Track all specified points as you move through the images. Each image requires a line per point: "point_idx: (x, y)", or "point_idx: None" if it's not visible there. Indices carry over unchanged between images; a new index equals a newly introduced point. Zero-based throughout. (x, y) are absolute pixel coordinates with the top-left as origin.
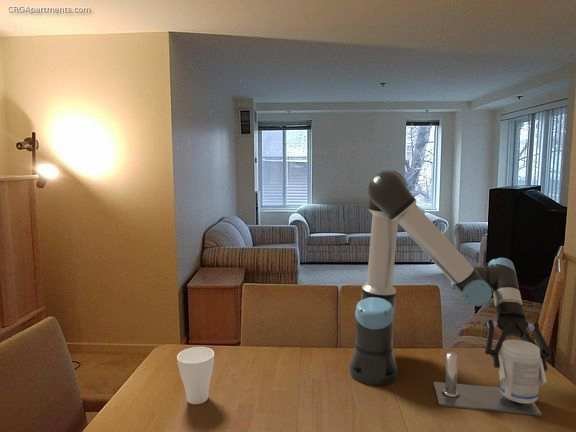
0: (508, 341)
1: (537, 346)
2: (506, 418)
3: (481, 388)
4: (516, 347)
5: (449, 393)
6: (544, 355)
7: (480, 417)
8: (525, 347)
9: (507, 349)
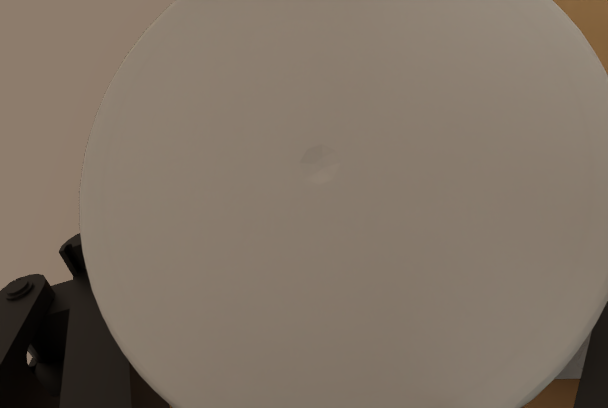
0: (498, 326)
1: (83, 212)
2: None
3: (584, 341)
4: (403, 81)
5: None
6: None
7: (600, 47)
8: (263, 123)
9: (555, 11)
